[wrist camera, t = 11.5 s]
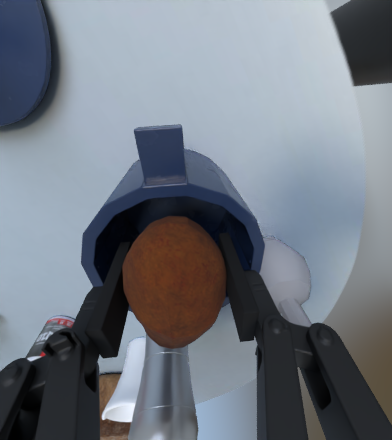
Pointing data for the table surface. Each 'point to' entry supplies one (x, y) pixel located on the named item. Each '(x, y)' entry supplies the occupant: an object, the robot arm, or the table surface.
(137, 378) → the cup
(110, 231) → the pot
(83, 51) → the table surface
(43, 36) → the lid
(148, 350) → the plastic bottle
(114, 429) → the bread
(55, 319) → the pill bottle
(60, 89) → the table surface
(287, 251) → the potion bottle
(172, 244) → the potato
